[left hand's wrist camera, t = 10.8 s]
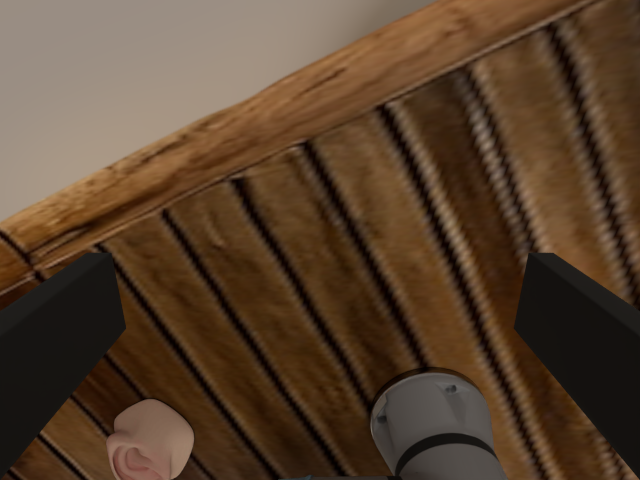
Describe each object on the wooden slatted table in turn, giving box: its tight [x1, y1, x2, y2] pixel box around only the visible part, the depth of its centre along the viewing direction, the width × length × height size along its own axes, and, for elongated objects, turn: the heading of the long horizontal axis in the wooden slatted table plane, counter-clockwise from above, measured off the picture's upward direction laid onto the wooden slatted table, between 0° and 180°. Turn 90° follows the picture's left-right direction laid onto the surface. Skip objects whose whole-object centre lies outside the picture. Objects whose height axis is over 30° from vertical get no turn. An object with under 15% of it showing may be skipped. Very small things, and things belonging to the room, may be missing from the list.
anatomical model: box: [106, 399, 194, 480], centre depth 52 cm, size 13×4×12 cm
